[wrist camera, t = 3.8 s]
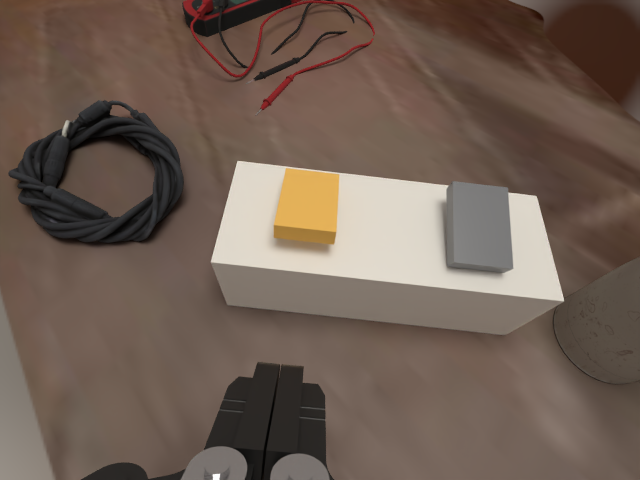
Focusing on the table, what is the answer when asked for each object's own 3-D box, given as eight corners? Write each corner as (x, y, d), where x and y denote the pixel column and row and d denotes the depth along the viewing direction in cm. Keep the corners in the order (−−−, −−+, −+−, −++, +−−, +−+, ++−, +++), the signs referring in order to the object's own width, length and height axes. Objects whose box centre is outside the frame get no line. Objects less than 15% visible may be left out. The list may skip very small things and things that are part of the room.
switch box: (489, 241, 37) (535, 192, 30) (505, 335, 32) (564, 301, 25) (247, 214, 37) (238, 157, 30) (227, 305, 32) (210, 262, 25)
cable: (214, 214, 37) (206, 186, 33) (65, 289, 32) (36, 266, 28) (141, 111, 43) (127, 77, 39) (7, 160, 38) (-23, 127, 34)
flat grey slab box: (495, 197, 28) (507, 187, 27) (500, 274, 26) (513, 268, 25) (443, 191, 28) (452, 181, 27) (444, 268, 26) (454, 262, 25)
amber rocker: (336, 191, 29) (339, 174, 28) (333, 249, 25) (336, 232, 24) (285, 185, 29) (285, 168, 28) (273, 242, 25) (273, 225, 24)
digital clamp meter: (145, -10, 48) (296, -56, 58) (155, 25, 52) (295, -23, 62) (252, 86, 40) (407, 15, 50) (255, 119, 44) (398, 47, 53)
